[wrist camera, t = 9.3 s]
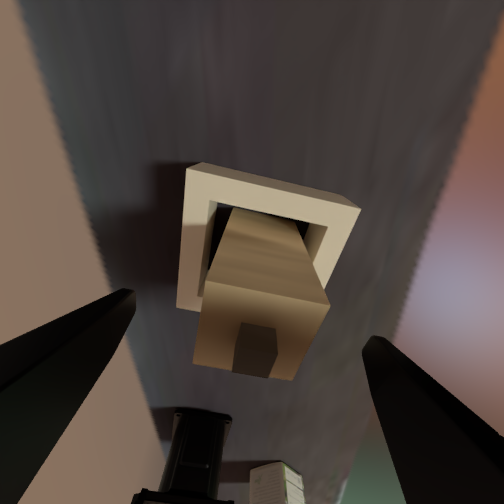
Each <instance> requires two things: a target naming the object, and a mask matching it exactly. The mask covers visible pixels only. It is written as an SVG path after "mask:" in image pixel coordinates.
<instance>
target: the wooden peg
mask: <svg viewBox="0 0 504 504" xmlns="http://www.w3.org/2000/svg"><path fill="white" fill-rule="evenodd" d="M329 308H330V303H329V301H328V299H327V296H326V294H325V292H324V289H323V287H322V285H321V282H320V280H319V278H318V275H317V273H316V271H315V268H314V266H313V264H312V261H311V259H310V257H309V254H308V252H307V250H306V247H305V245H304V243H303V240H302V238H301V236H300V233H299V231H298V229H297V226H296V224H295V222H294V221H291V220H286V219H282V218H278V217H273V216H269V215H265V214H260V213H256V212H252V211H247V210H243V209H239V208H234V207H233V210H232V212H231V215H230V218H229V220H228V223H227V225H226V228H225V231H224V233H223V236H222V238H221V241H220V244H219V246H218V249H217V252H216V254H215V257H214V259H213V262H212V265H211V267H210V270H209V273H208V275H207V278H206V280H205V287H204V293H203V300H202V306H201V312H200V319H199V325H198V332H197V338H196V345H195V351H194V358H193V364H198V365H204V366H209V367H215V368H221V369H227V370H232V372H234V373H240V374H246V375H251V376H257V377H263V378H268V377H273V378H279V379H285V380H291V381H292V380H293V378H294V376H295V374H296V372H297V370H298V368H299V366H300V364H301V362H302V360H303V358H304V356H305V354H306V353H307V351H308V349H309V347H310V345H311V343H312V341H313V339H314V337H315V335H316V333H317V331H318V329H319V327H320V325H321V323H322V321H323V319H324V318H325V316H326V314H327V312H328V310H329Z"/></svg>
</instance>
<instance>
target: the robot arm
mask: <svg viewBox="0 0 504 504" xmlns="http://www.w3.org/2000/svg"><path fill="white" fill-rule="evenodd" d="M135 311H136V293H135V291H134V290H131V289H125V288H122V289H120V290H117V291H115V292H113V293H111V294H109V295H107V296H105V297H102V298H100V299H98V300H96V301H94V302H92V303H90V304H88V305H85V306H83V307H81V308H79V309H77V310H74V311H72V312H70V313H68V314H66V315H64V316H62V317H59V318H57V319H55V320H53V321H51V322H49V323H47V324H44V325H42V326H40V327H38V328H36V329H34V330H31V331H29V332H27V333H25V334H23V335H21V336H19V337H16V338H14V339H12V340H10V341H8V342H6V343H4V344H1V345H0V504H17V503H18V501H19V500H20V498H21V497H22V496H23V494H24V492H25V491H26V489H27V488H28V486H29V485H30V483H31V482H32V480H33V479H34V477H35V475H36V474H37V472H38V471H39V469H40V468H41V466H42V465H43V463H44V462H45V460H46V458H47V457H48V455H49V454H50V452H51V451H52V449H53V448H54V446H55V444H56V443H57V441H58V440H59V438H60V437H61V435H62V434H63V432H64V431H65V429H66V428H67V426H68V425H69V423H70V421H71V420H72V418H73V417H74V415H75V414H76V412H77V411H78V409H79V408H80V406H81V404H82V403H83V401H84V400H85V398H86V397H87V395H88V394H89V392H90V391H91V389H92V387H93V386H94V384H95V383H96V381H97V380H98V378H99V377H100V375H101V373H102V372H103V370H104V369H105V367H106V366H107V364H108V363H109V361H110V359H111V358H112V356H113V355H114V353H115V351H116V349H117V347H118V345H119V343H120V341H121V339H122V338H123V336H124V334H125V332H126V330H127V328H128V326H129V324H130V322H131V320H132V318H133V316H134V314H135ZM362 357H363V362H364V366H365V370H366V375H367V379H368V383H369V388H370V392H371V396H372V399H373V403H374V406H375V409H376V412H377V415H378V418H379V421H380V424H381V427H382V430H383V433H384V436H385V439H386V442H387V445H388V448H389V452H390V455H391V458H392V461H393V464H394V467H395V470H396V473H397V476H398V479H399V482H400V485H401V488H402V491H403V494H404V497H405V501H406V504H504V437H503V436H501V435H499V434H498V432H496V431H495V430H494V429H493V428H492V427H491V426H490V425H488V424H487V423H486V422H485V421H484V420H482V419H481V418H480V417H479V416H478V415H476V414H475V413H474V412H473V411H472V410H470V409H469V408H468V407H467V406H466V405H464V404H463V403H462V402H461V401H460V400H458V399H457V398H456V397H455V396H454V395H452V394H451V393H450V392H449V391H448V390H446V389H445V388H444V387H443V386H442V385H440V384H439V383H438V382H437V381H436V380H435V379H433V378H432V377H431V376H430V375H429V374H427V373H426V372H425V371H424V370H422V369H421V368H420V367H419V366H418V365H416V364H415V363H414V362H413V361H412V360H411V359H409V358H408V357H407V356H406V355H405V354H403V353H402V352H401V351H400V350H399V349H398V348H396V347H395V346H394V345H393V344H392V343H390V342H389V341H388V340H387V339H386V338H384V337H381V336H375V335H373V336H371V337H370V339H369V340H368V341H367V343H366V344H365V346H364V347H363V349H362ZM231 425H232V418H231V417H229V416H222V415H216V414H209V413H203V412H196V411H189V410H183V409H176V410H175V413H174V420H173V430H172V440H173V441H172V444H171V448H170V451H169V454H168V458H167V461H166V465H165V469H164V472H163V475H162V479H161V482H160V486H159V489H158V492H156V491H149V490H148V489H145V488H142V490H141V493H138V494H134V496H133V499H132V502H131V504H234V501H232V500H228V501H222V500H217V495H218V486H219V478H220V469H221V461H222V452H223V447H224V445H225V442H226V439H227V436H228V433H229V430H230V427H231Z"/></svg>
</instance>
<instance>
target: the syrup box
mask: <svg viewBox="0 0 504 504" xmlns="http://www.w3.org/2000/svg"><path fill="white" fill-rule="evenodd" d="M250 504H306V500H305V493H304V485H303V478H302V475H300V474H299V473H297V472H296V471H294V470H293V469H292V468H290V467H289V466H287V465H286V464H284V463H283V462H276V463H271V464H267V465H264V466H260V467H257V468H254V469H251V470H250Z"/></svg>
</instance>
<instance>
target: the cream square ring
mask: <svg viewBox="0 0 504 504" xmlns="http://www.w3.org/2000/svg"><path fill="white" fill-rule="evenodd" d="M217 202H220V203H225V204H229V205H234V206H238V207H243V208H247V209H251V210H256V211H260V212H265V213H269V214H274V215H278V216H283V217H287V218H292V219H296V220H301V221H305V222H310V224H309V226H308V229H307V232H306V235H305V237H304V240H303V243H304V245H305V247H306V250H307V252H308V254H309V257H310V259H311V261H312V264H313V266H314V268H315V271H316V273H317V275H318V278H319V280H320V282H321V285H322V287H323V289H324V288H325V286H326V284H327V282H328V280H329V277H330V275H331V273H332V271H333V269H334V267H335V265H336V262H337V260H338V258H339V256H340V254H341V252H342V249H343V247H344V245H345V243H346V241H347V239H348V237H349V234H350V232H351V230H352V228H353V226H354V224H355V221H356V219H357V217H358V215H359V213H360V211H361V208H359V207H358V206H356V205H355V204H353V203H352V202H350V201H349V200H347V199H346V198H344V197H343V196H341V195H339V194H335V193H331V192H326V191H322V190H318V189H314V188H309V187H305V186H301V185H297V184H292V183H288V182H284V181H280V180H275V179H271V178H267V177H263V176H258V175H254V174H250V173H246V172H242V171H237V170H233V169H229V168H225V167H220V166H216V165H212V164H208V163H203V162H201V163H199V164H196V165H194V166H191V167H189V168H187V169H186V182H185V195H184V209H183V222H182V236H181V249H180V263H179V276H178V289H177V303H176V308H182V309H187V310H192V311H198V312H201V306H202V300H203V293H204V287H205V280H206V278H207V275H208V273H209V270H208V264H209V257H210V250H211V243H212V236H213V229H214V223H215V216H216V209H217Z"/></svg>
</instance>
